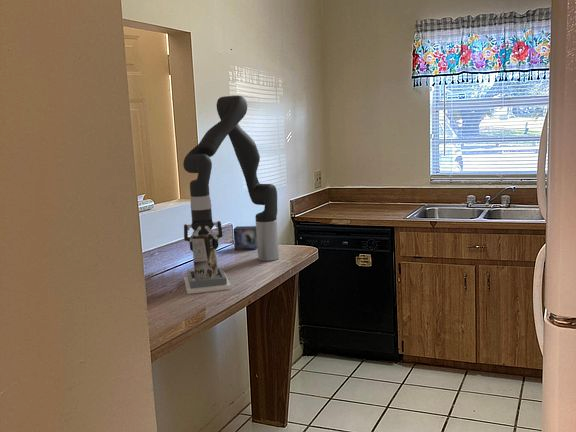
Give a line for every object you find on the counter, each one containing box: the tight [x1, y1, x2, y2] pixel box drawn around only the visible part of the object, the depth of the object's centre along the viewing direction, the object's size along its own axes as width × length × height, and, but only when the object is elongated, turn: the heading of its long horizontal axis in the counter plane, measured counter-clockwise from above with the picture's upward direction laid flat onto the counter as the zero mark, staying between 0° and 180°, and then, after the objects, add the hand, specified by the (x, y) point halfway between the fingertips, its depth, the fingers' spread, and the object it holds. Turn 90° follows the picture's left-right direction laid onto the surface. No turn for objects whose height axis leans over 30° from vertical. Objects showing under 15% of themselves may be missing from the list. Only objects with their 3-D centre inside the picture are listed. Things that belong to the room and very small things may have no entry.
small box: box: [232, 225, 258, 251], centre depth 288 cm, size 11×6×10 cm, turn 80°
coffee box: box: [192, 233, 218, 280], centre depth 227 cm, size 9×6×16 cm
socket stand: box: [183, 267, 232, 295], centre depth 228 cm, size 19×16×4 cm
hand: (204, 250), depth 226 cm, fingers closed on coffee box, 8 cm apart
